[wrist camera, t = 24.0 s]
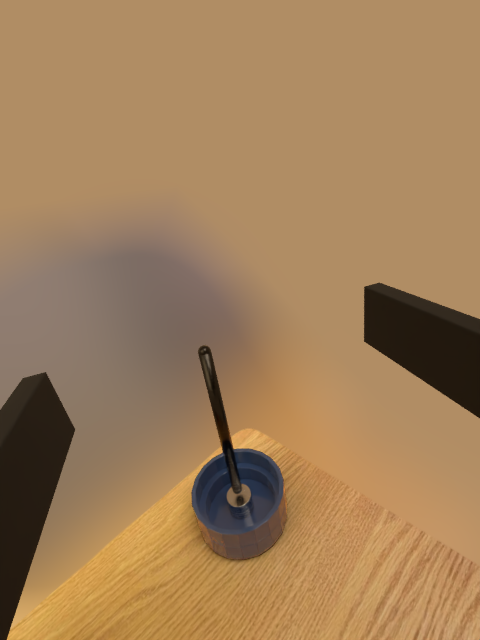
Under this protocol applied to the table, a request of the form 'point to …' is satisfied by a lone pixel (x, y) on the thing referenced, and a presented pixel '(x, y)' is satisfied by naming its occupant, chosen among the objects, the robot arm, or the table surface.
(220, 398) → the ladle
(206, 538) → the bowl
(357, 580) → the table surface
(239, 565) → the table surface
